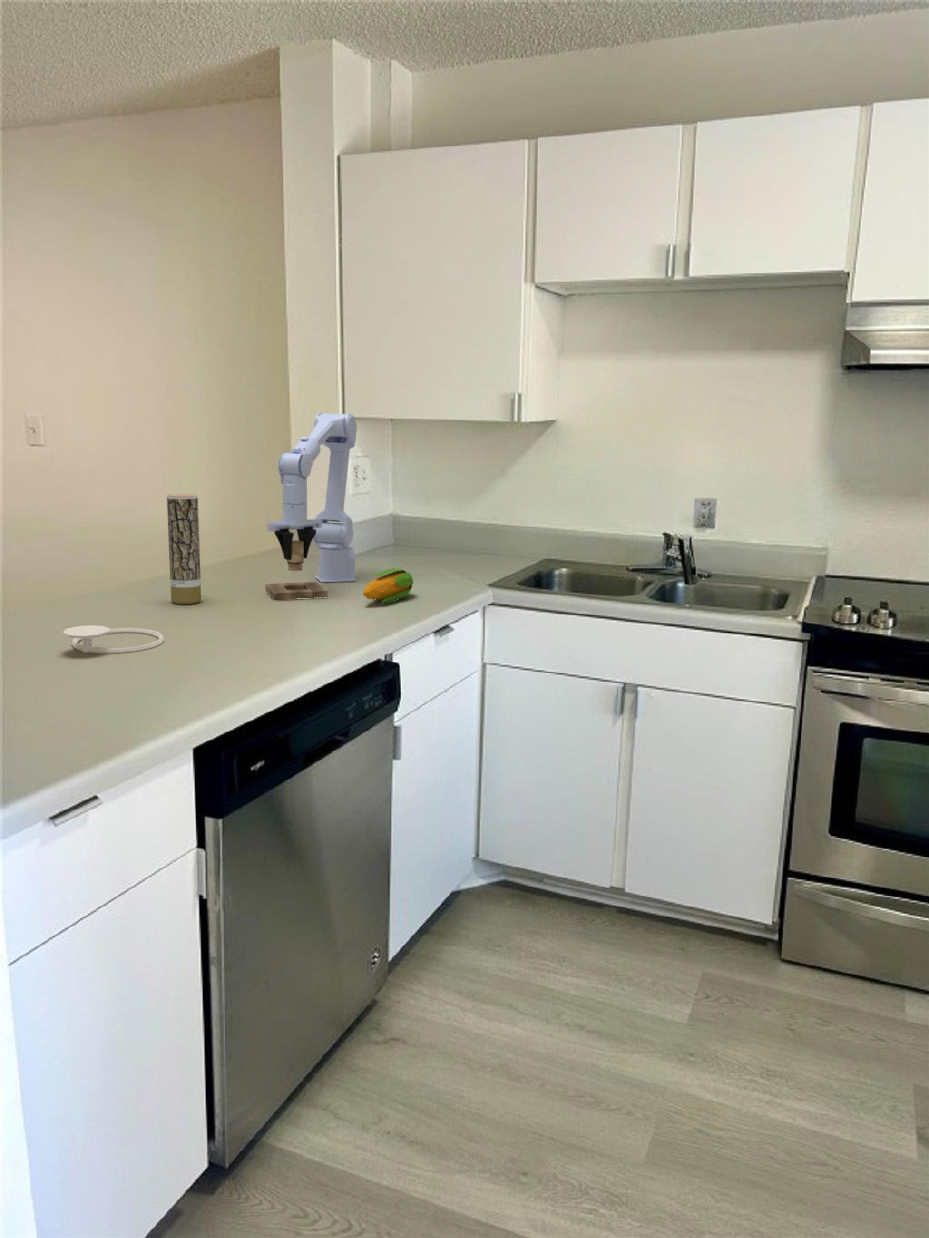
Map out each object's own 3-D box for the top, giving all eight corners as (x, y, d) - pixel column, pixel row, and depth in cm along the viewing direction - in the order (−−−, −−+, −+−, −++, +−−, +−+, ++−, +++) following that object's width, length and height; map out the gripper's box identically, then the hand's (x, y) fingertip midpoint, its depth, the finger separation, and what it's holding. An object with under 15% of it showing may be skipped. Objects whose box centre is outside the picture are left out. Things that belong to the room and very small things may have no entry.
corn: (420, 565, 230) (379, 577, 212) (421, 595, 231) (380, 609, 214) (394, 564, 233) (352, 576, 215) (395, 594, 234) (353, 608, 217)
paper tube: (192, 606, 211) (188, 497, 205) (165, 604, 212) (161, 495, 207) (206, 600, 218) (203, 494, 212) (180, 598, 219) (176, 493, 213)
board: (316, 588, 235) (316, 581, 235) (327, 598, 224) (327, 591, 224) (265, 591, 230) (265, 583, 230) (274, 600, 220) (274, 593, 219)
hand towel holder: (182, 619, 182) (105, 641, 163) (182, 640, 183) (106, 664, 164) (115, 608, 188) (34, 629, 170) (116, 629, 189) (36, 652, 171)
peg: (296, 567, 229) (296, 540, 227) (307, 570, 226) (307, 542, 225) (283, 569, 226) (283, 541, 224) (293, 571, 223) (293, 543, 222)
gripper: (310, 500, 230) (311, 553, 233) (260, 503, 220) (261, 558, 223) (327, 503, 225) (327, 557, 228) (276, 506, 215) (276, 563, 218)
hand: (295, 558), depth 225 cm, fingers closed on peg, 4 cm apart
